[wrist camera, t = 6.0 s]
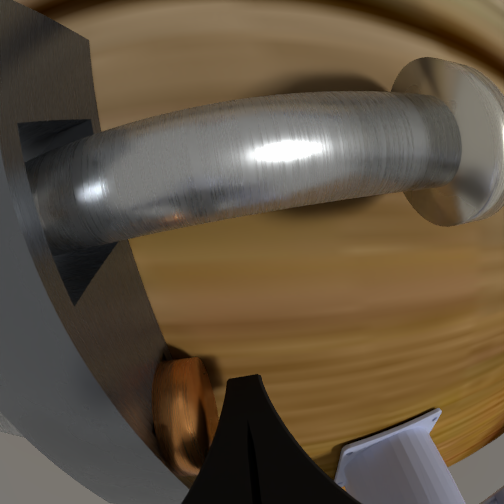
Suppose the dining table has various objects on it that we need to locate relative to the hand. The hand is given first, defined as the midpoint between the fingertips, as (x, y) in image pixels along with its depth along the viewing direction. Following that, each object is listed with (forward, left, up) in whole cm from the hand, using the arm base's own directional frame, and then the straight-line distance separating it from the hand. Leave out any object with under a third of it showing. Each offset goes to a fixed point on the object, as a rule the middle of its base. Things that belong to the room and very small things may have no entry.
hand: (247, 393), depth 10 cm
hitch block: (+4, +5, -2) cm, 7 cm away
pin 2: (+8, 0, -1) cm, 8 cm away
